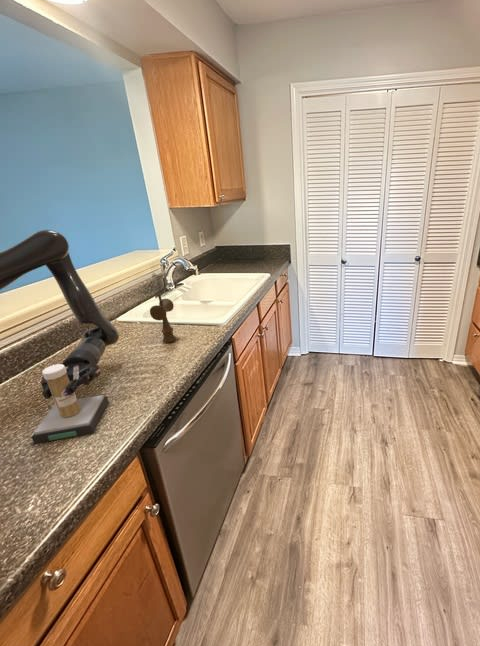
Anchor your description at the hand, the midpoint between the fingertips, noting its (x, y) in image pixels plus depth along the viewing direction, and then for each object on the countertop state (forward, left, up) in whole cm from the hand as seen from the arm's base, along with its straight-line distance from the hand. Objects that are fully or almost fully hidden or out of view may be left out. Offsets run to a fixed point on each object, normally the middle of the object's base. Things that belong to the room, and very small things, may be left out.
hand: (57, 393), depth 79 cm
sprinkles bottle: (0, +2, -8) cm, 8 cm away
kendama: (+18, +47, -11) cm, 51 cm away
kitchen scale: (0, +3, -10) cm, 11 cm away
